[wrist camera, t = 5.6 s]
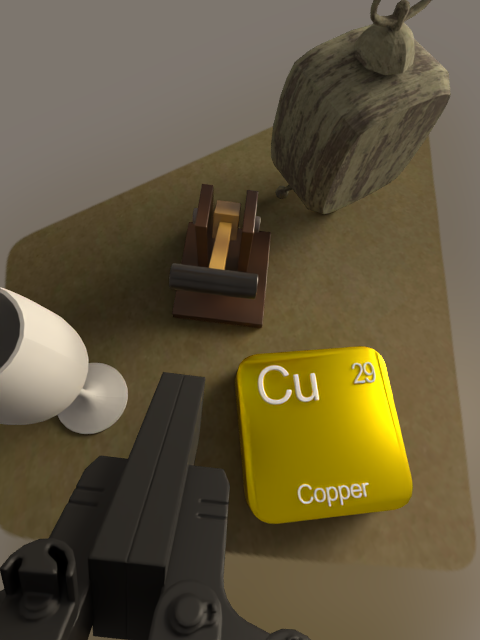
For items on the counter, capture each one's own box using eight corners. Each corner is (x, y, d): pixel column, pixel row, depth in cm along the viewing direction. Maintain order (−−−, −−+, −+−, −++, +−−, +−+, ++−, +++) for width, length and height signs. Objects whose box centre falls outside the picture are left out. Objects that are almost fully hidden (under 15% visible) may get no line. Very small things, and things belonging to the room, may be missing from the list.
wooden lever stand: (261, 328, 42) (279, 277, 30) (173, 317, 42) (156, 261, 30) (269, 237, 46) (289, 161, 34) (189, 227, 46) (180, 146, 34)
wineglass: (60, 360, 39) (-94, 265, 20) (133, 362, 40) (54, 270, 20) (47, 435, 37) (-146, 412, 17) (125, 436, 37) (26, 413, 17)
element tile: (246, 519, 35) (251, 528, 31) (232, 364, 40) (235, 353, 36) (397, 501, 37) (422, 508, 32) (365, 354, 42) (383, 342, 37)
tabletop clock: (348, 152, 52) (459, -98, 28) (388, 200, 49) (546, -31, 26) (261, 192, 48) (305, -54, 25) (299, 245, 46) (388, 29, 23)
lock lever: (254, 308, 26) (258, 279, 25) (168, 297, 26) (168, 268, 24) (258, 229, 36) (261, 205, 34) (195, 221, 35) (196, 197, 34)
